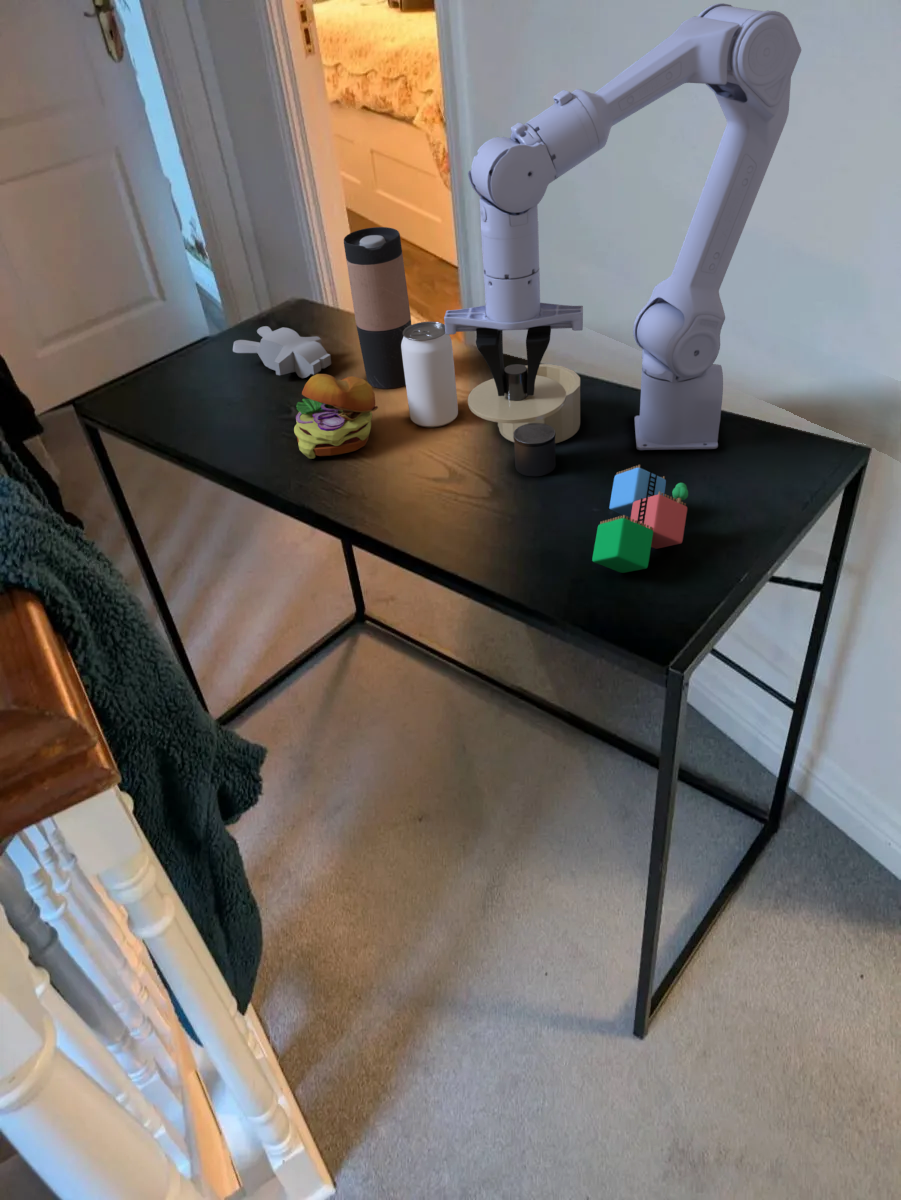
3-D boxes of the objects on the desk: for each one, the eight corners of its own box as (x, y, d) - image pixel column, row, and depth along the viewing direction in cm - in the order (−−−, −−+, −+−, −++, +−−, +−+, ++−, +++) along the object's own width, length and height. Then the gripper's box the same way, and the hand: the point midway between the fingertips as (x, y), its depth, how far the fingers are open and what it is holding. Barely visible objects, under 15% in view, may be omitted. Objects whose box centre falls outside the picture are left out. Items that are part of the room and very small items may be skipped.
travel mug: (387, 362, 134) (367, 224, 121) (428, 372, 130) (412, 230, 117) (354, 383, 129) (330, 241, 117) (395, 394, 126) (375, 248, 113)
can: (453, 429, 116) (444, 341, 109) (405, 428, 118) (393, 341, 110) (463, 405, 121) (455, 319, 113) (416, 405, 122) (406, 320, 115)
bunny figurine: (298, 362, 127) (223, 333, 133) (302, 394, 130) (228, 365, 137) (341, 337, 133) (267, 310, 139) (344, 368, 136) (271, 341, 142)
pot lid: (567, 381, 104) (567, 346, 102) (564, 427, 96) (564, 391, 93) (474, 383, 106) (471, 349, 103) (463, 429, 98) (459, 393, 95)
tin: (556, 455, 109) (556, 422, 106) (555, 476, 105) (554, 443, 102) (516, 456, 110) (514, 423, 107) (513, 477, 106) (511, 443, 103)
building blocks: (625, 589, 95) (642, 485, 98) (679, 580, 88) (696, 468, 91) (566, 567, 92) (586, 459, 94) (618, 555, 85) (638, 440, 87)
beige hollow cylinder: (580, 405, 118) (580, 362, 114) (579, 445, 110) (579, 400, 106) (502, 407, 120) (499, 365, 116) (495, 446, 112) (492, 402, 108)
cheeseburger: (276, 448, 116) (274, 371, 111) (339, 433, 123) (340, 360, 118) (327, 470, 110) (327, 390, 106) (390, 453, 117) (393, 377, 113)
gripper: (583, 252, 93) (582, 374, 102) (446, 259, 96) (456, 377, 104) (582, 277, 88) (581, 403, 97) (437, 283, 90) (449, 405, 99)
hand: (516, 391), depth 100 cm, fingers closed on pot lid, 2 cm apart
